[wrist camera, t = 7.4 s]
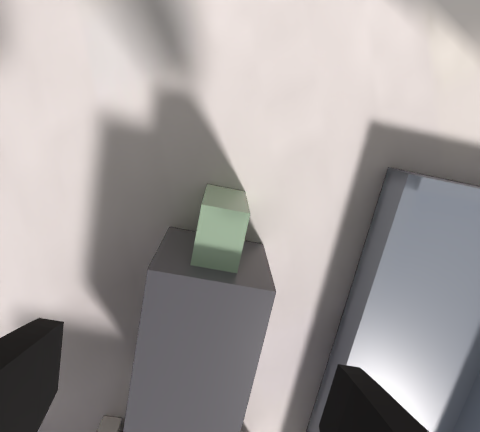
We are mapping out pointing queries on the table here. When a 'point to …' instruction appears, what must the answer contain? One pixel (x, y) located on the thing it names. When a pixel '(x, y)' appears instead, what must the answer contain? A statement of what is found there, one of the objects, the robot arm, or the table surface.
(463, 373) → the tray
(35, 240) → the table surface
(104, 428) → the sleeve
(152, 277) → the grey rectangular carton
